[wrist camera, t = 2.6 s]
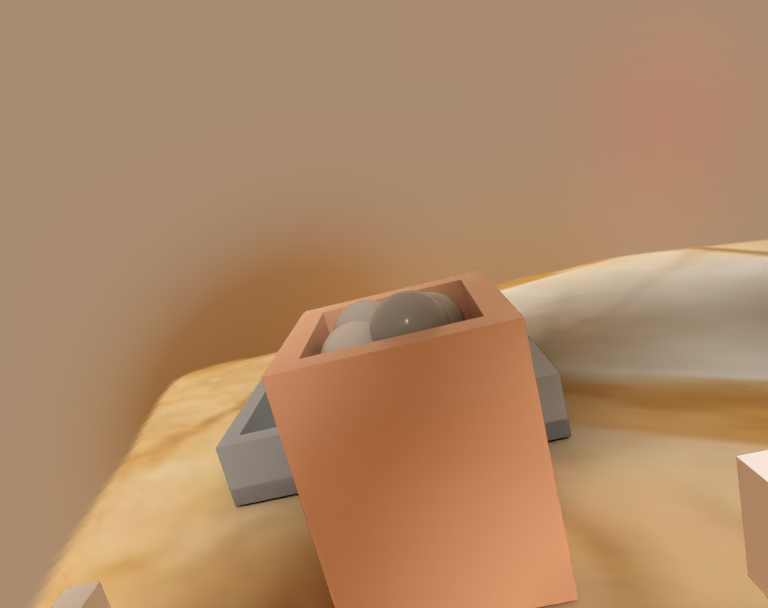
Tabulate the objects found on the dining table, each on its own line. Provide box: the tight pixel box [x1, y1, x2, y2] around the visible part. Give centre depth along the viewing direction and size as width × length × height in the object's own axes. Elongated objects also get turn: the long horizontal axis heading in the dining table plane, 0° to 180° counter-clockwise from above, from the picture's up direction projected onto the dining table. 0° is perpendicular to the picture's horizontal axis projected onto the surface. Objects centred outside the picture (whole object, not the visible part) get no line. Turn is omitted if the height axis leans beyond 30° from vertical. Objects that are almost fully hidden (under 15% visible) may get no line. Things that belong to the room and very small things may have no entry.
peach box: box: [261, 270, 578, 608], centre depth 21 cm, size 8×8×11 cm
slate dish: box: [216, 335, 571, 506], centre depth 36 cm, size 18×18×4 cm
